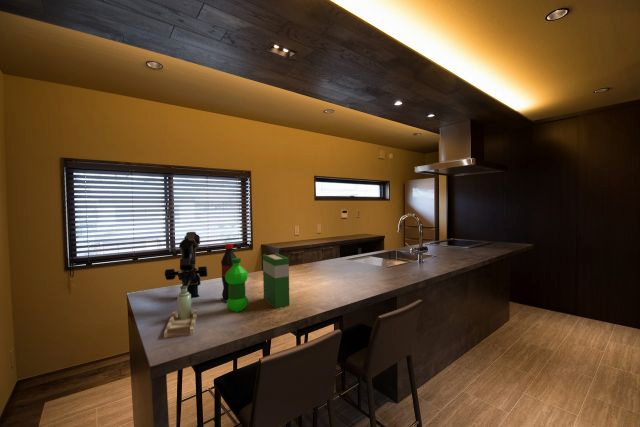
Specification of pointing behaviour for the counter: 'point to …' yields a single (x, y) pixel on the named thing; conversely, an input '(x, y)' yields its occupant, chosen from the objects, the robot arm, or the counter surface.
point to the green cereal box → (276, 280)
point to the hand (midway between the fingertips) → (185, 288)
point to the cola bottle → (226, 268)
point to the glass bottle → (184, 303)
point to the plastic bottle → (236, 286)
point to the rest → (180, 325)
